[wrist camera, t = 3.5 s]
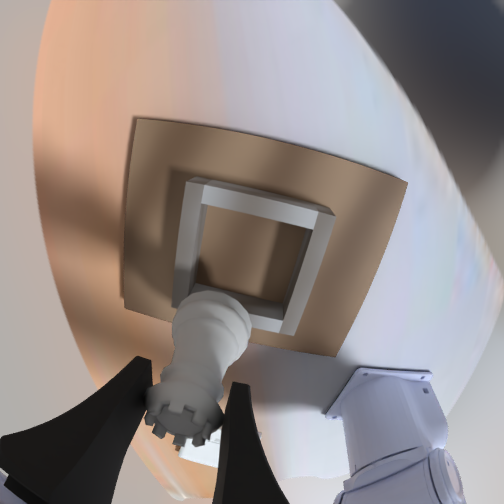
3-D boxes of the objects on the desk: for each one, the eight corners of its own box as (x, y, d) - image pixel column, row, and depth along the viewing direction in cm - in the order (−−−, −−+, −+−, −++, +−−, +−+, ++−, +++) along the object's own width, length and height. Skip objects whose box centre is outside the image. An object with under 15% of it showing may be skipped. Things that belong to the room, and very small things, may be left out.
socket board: (401, 180, 16) (423, 188, 13) (333, 349, 21) (339, 375, 18) (144, 119, 15) (121, 117, 13) (129, 301, 21) (113, 322, 18)
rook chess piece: (164, 302, 16) (99, 396, 8) (229, 274, 15) (192, 377, 7) (201, 358, 17) (167, 460, 9) (265, 337, 16) (258, 451, 8)
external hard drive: (179, 448, 32) (193, 410, 27) (233, 462, 32) (262, 428, 27) (177, 456, 30) (190, 421, 26) (232, 471, 31) (261, 440, 26)
